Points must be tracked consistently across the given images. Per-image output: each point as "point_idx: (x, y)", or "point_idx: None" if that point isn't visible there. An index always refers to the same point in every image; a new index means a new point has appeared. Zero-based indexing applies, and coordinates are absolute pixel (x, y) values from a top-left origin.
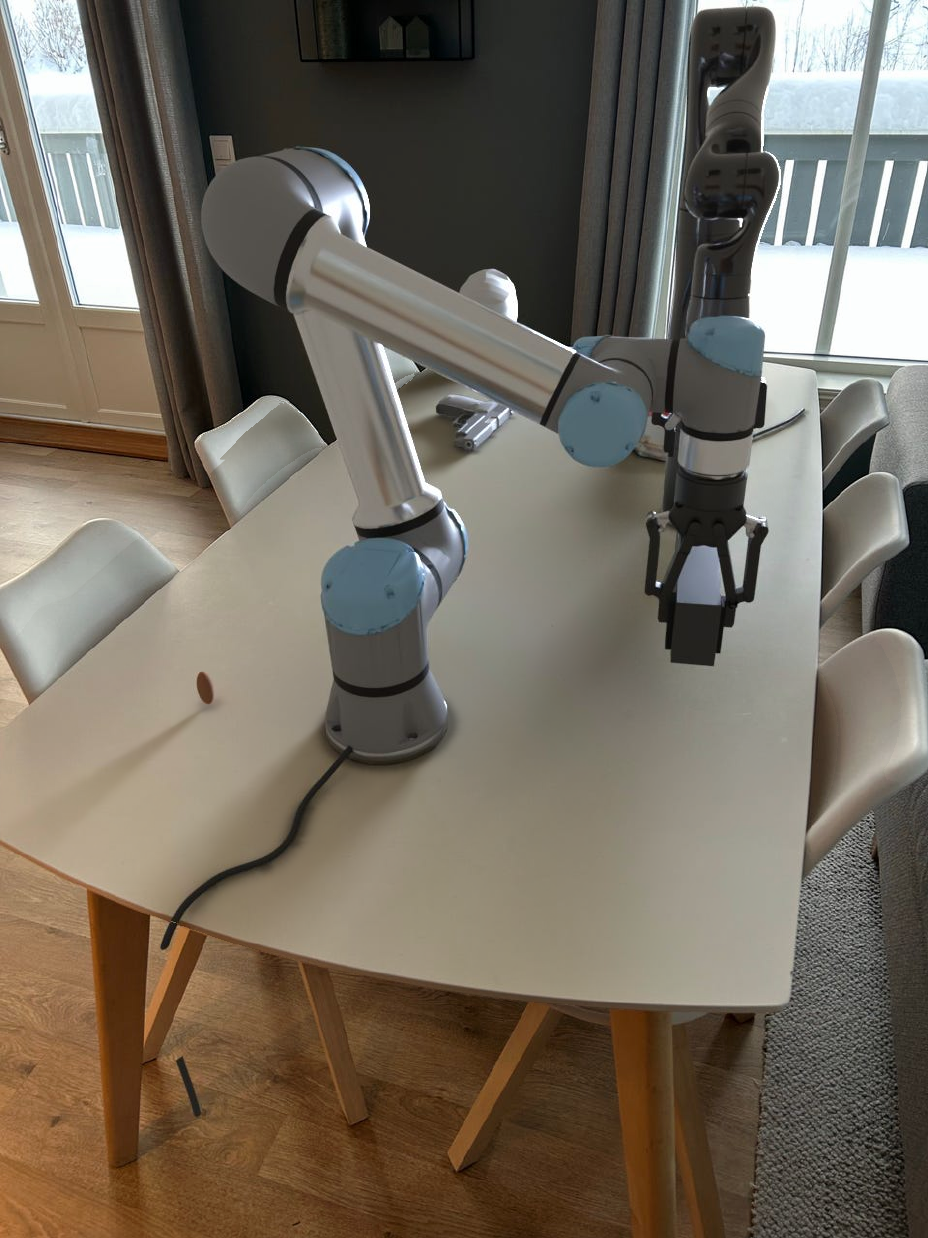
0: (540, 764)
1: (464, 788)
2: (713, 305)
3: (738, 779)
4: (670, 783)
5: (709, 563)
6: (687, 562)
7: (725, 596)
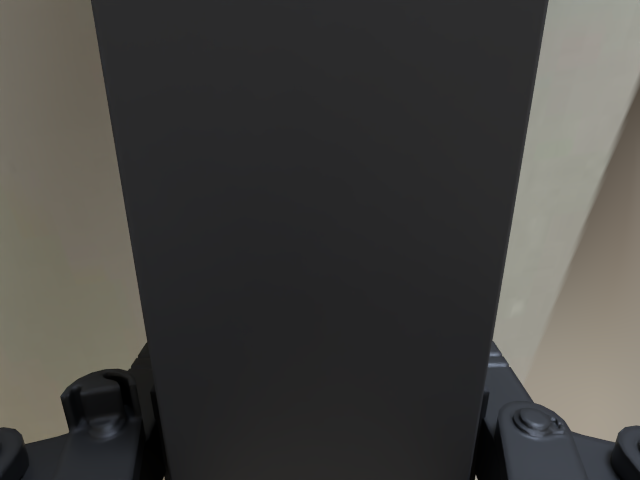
0: (68, 430)
1: None
2: None
3: None
4: None
5: (432, 106)
6: (210, 118)
7: (486, 398)
